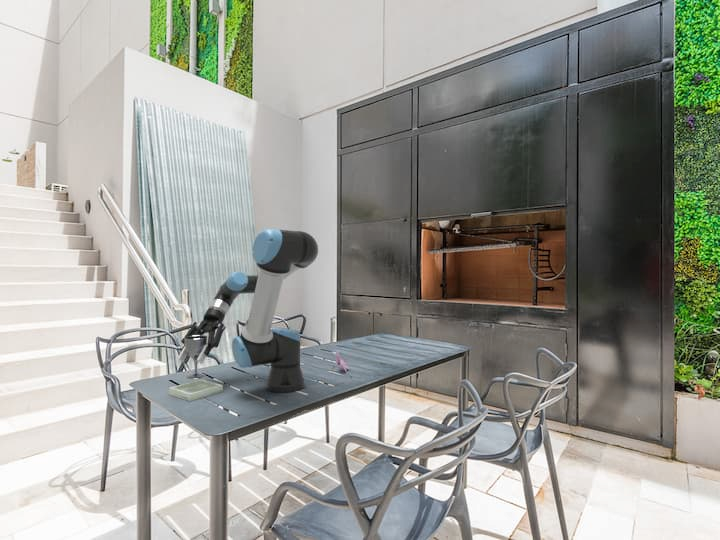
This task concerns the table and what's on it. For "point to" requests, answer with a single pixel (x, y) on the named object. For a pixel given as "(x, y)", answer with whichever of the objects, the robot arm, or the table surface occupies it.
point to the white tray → (195, 390)
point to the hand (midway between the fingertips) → (189, 361)
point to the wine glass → (195, 351)
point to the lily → (340, 361)
